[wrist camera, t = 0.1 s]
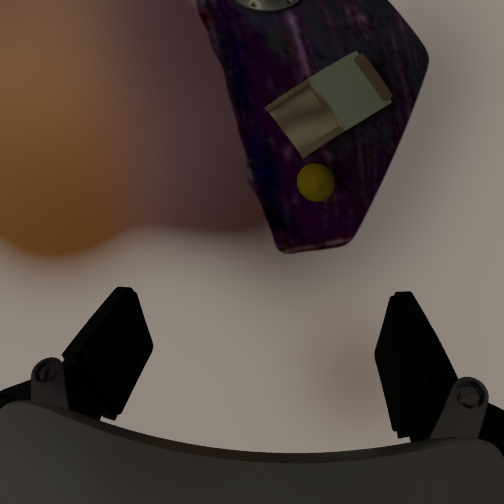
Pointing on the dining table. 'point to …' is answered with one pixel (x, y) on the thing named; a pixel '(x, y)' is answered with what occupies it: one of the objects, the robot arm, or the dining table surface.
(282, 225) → the dining table surface
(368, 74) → the cover
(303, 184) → the lemon
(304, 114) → the beige box
